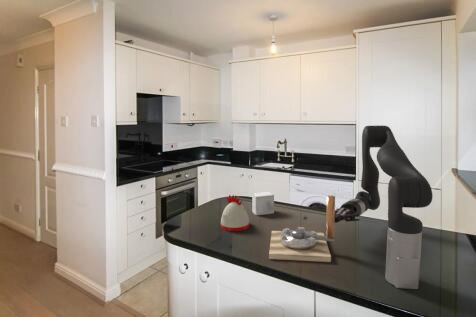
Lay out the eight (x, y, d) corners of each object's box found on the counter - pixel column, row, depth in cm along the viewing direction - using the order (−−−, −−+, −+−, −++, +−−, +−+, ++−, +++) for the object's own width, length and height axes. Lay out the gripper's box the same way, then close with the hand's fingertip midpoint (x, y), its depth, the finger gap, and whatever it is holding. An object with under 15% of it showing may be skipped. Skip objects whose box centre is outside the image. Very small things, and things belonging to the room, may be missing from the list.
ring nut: (276, 247, 116) (276, 197, 113) (284, 233, 129) (284, 188, 126) (332, 254, 109) (333, 202, 106) (335, 239, 122) (336, 192, 119)
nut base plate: (330, 262, 108) (331, 256, 108) (269, 258, 111) (269, 253, 111) (323, 237, 129) (323, 232, 129) (271, 235, 133) (271, 230, 133)
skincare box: (256, 215, 159) (255, 196, 157) (252, 212, 165) (251, 193, 163) (274, 213, 162) (274, 194, 160) (269, 209, 168) (269, 191, 166)
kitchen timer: (230, 219, 155) (229, 190, 153) (254, 223, 148) (254, 193, 146) (215, 228, 143) (213, 197, 141) (240, 233, 136) (239, 200, 134)
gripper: (338, 197, 132) (318, 207, 120) (369, 203, 123) (351, 214, 111) (337, 214, 133) (318, 225, 121) (368, 221, 124) (351, 233, 112)
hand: (334, 220), depth 116 cm, fingers closed
